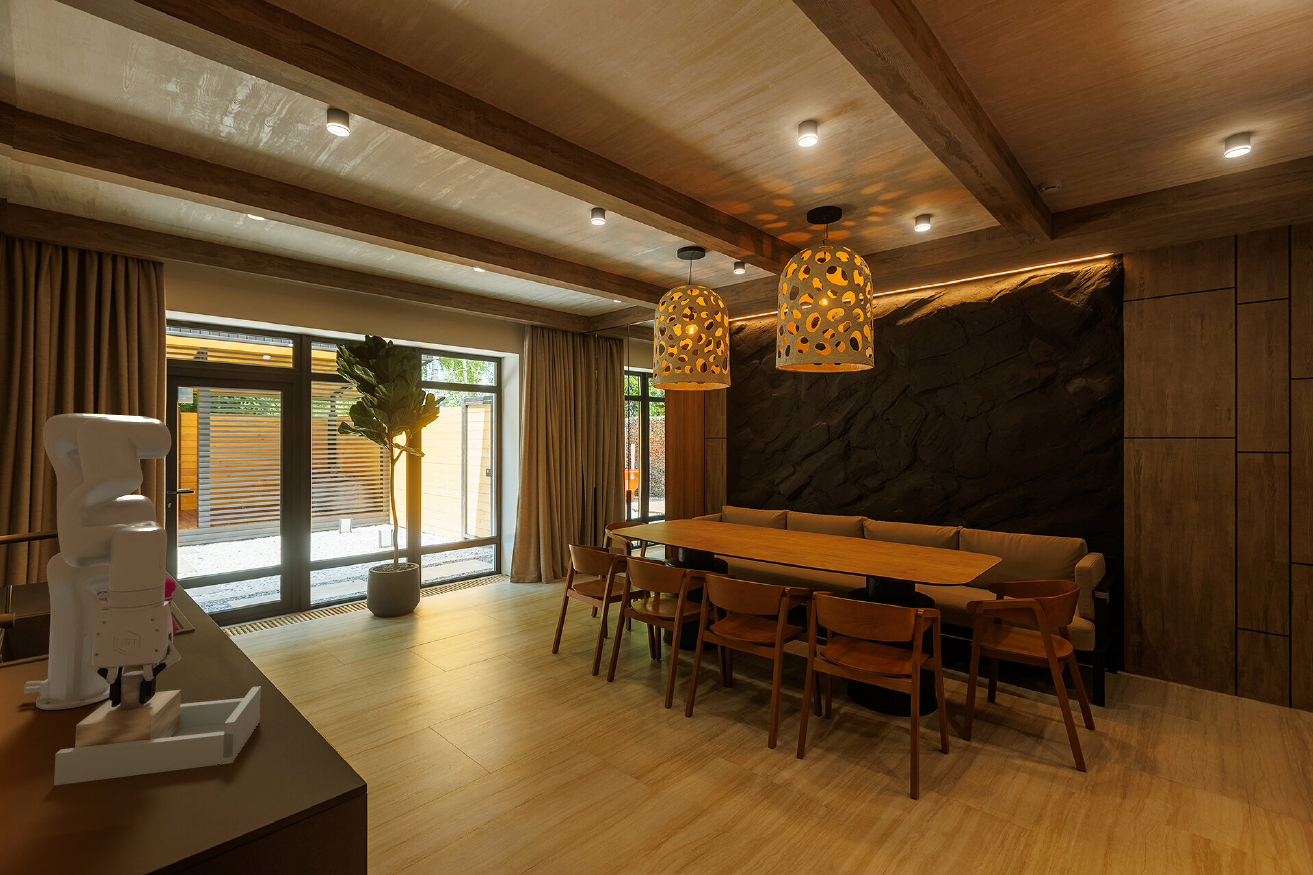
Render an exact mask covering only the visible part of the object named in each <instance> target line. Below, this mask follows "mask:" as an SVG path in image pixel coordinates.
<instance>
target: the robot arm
mask: <svg viewBox="0 0 1313 875" xmlns="http://www.w3.org/2000/svg"><path fill="white" fill-rule="evenodd" d="M42 430H43V431H42V437H43V438H42V440H43V445H44V449H45V452H46V455H47V457H48V460H49V461H50V464H51V466H52V468H53V470H54V472H55V476H56V482H57V483H56V526H57V535H58V536H57V537H58V544H59V551H60V552H58V553H57V554H55V555H53V556H51V558H50V559H49V561H48V562H47V564H46V579H47V584H48V592H49V600H50V623H49V624H50V626H49V647H48V666H47V667H48V668H47V678H46V679H45V680H28V681H26V682H25V683H24V685H23V694H24V695H33V694H37V693H38V694H39V695H40V696H39V697H37V699H36V700H35V706H36V708H37V709H40V710H46V711H47V710H48V711H51V710H52V711H54V710H55V711H56V710H58V711H59V710H67V709H74V708H79V707H84V706H88V705H91V704H95V703H98V702H101V701H104V700H106V699H108V698H109V699H108V700H110V701H112V705H111V706H112V707H116V706H118V705H119V704H120V697H121V676H122V675H123V674H124V671H125V668H127V667H136V666H137V667H138V666H142V667H143V671H144V680H143V681H142V682H141V683H140V704H146V703H147V702H148V701H149V700H150V699H151V698H152V697H153V696H154V695H155V692H157V689H156V688H157V676H158V675H160V673H162V672H163V671H164V670H165V669H167V668H169V667H170V666H173V665H174V664H176V663H177V662H179V661H180V660H181V659H182V655H181V654H180V652H179V651H178V650H177V647H176V646H175V644H174V645H173V639H174V635H173V625H172V616H173V615H172V616H171V614H172V611H170V608H171V605H170V606H169V603H168V601H164V597H165V577H166V576H167V573H166V571H167V549H168V548H167V547H168V546H167V545H168V532H167V530H166V529H165V528H164V527H162V525H161V524H160V523H159V522H157V512H156V508H155V504H154V503H153V501H152V499H150V498H149V497H148V496H145V495H142V494H140V495H139V494H132V493H134V492H135V491H137V490H138V489H139V488H140V487H141V485H142V483H144V482H143V480H144V475H143V472H142V467H141V463H140V462H141V461H140V460H143V459H144V460H146V459H147V460H148V459H149V460H158V459H164V458H165V457H167V455H169V452H170V451H171V448H172V436H171V432H170V430H169V428H168V426H167V424H165V423H164V421H162V420H161V419H156V418H152V417H148V416H140V415H138V416H137V415H136V416H135V415H117V414H101V413H100V414H99V413H63V414H57V415H54V416H51V417H49V418H48V419H47V420H46V421H45V424H44V425H43V429H42ZM99 592H100V593H99ZM166 657H167V658H166ZM165 658H166V659H165Z"/></svg>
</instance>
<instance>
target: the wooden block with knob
mask: <svg viewBox="0 0 1313 875" xmlns="http://www.w3.org/2000/svg"><path fill="white" fill-rule="evenodd" d="M143 680H144V670H135V671H129V672H126V673H123V675H122V676H121V697H120V704H119V705H118V706H116V707H112V706H111V705H112V701H110V700H109V699H108V700H107V701H106V702H105V703H102V705H100V706H99V707H98V708H97V709H95V710H93V712H91V713H90V714H89V715H88V716H86V717H85V718H84V719H82V720H81V721H80V722H79V723H77V724H76V725H75V740H74V741H75V742H74V743H75V746H74V748H78V747H87V746H96V745H105V744H115V743H124V742H133V741H142V740H151V739H160V738H169V737H171V736H172V735H173V734H174V733H175V732H176V731H177V729H178V728H179V724H180V704H181V699H182V697H181V696H182V690H181V689H177V690H176V689H175V690H167V691H166V690H165V691H156V692H155V695H154V696H153V697H152V698H151V699H150V700H149V701H148V702H147V703H146V704H140V683H141V682H142V681H143Z"/></svg>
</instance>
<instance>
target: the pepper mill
mask: <svg viewBox="0 0 1313 875" xmlns="http://www.w3.org/2000/svg"><path fill="white" fill-rule="evenodd" d="M176 588H177V585H176V581H175V580H174V579H172V578H171V577H166V576H165V597H164V601H168V603H169V606H170V611H171V605H172V604H171V603H172V602H173V600H174V599H173V598H174V595H173V593H174V591H175V590H176ZM171 612H172V611H171ZM171 616H172V625H173V636H175V635H176V633H177V631H178V627H177V623H176V620H175V618H174V616H173V613H171ZM173 645H174V646H175V639H174V638H173Z"/></svg>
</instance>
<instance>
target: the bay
mask: <svg viewBox="0 0 1313 875" xmlns="http://www.w3.org/2000/svg"><path fill="white" fill-rule="evenodd" d="M261 694H262V686H260V685H259V686H252V687H251V688H250V690H249V691H248V692H247V693H246V695H245V696H244V697H241V698H230V699H221V700H219V699H218V700H210V701H199V702H189V703H188V702H187V703H180V724H179V728H178V729H177V731H176V732H175V733H174V734H173V735H172V736H171V737H169V738H160V739H151V740H142V741H133V742H124V743H115V744H105V745H96V746H87V747H78V748H75V747H70V748H63V749H60V750H58V751H57V752H56V753H55V758H54V760H55V761H54V778H53V779H54V780H53V782H54V783H53V786H60V785H69V784H78V783H84V782H85V783H86V782H92V781H99V780H101V781H102V780H108V779H109V780H110V779H115V778H123V777H132V776H139V775H140V776H141V775H146V774H147V775H148V774H157V773H164V772H172V771H180V770H187V769H195V768H202V767H204V768H205V767H213V766H218V765H217V764H220V765H226V764H233V763H234V762H235V760H236V758H237V756H239V754H238V753H241V751H242V749H243V748H244V746H245V745H246V744H247V743H248V742H247V741H248V740H249V739H250V737H251V736H252V735H253V733H254V732H255V730H256V728H257V727H258V725H259V724H258V723H260V722H261V721H260V719H261V697H262V695H261ZM256 726H257V727H256ZM254 729H255V730H254ZM242 747H243V748H242Z"/></svg>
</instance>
